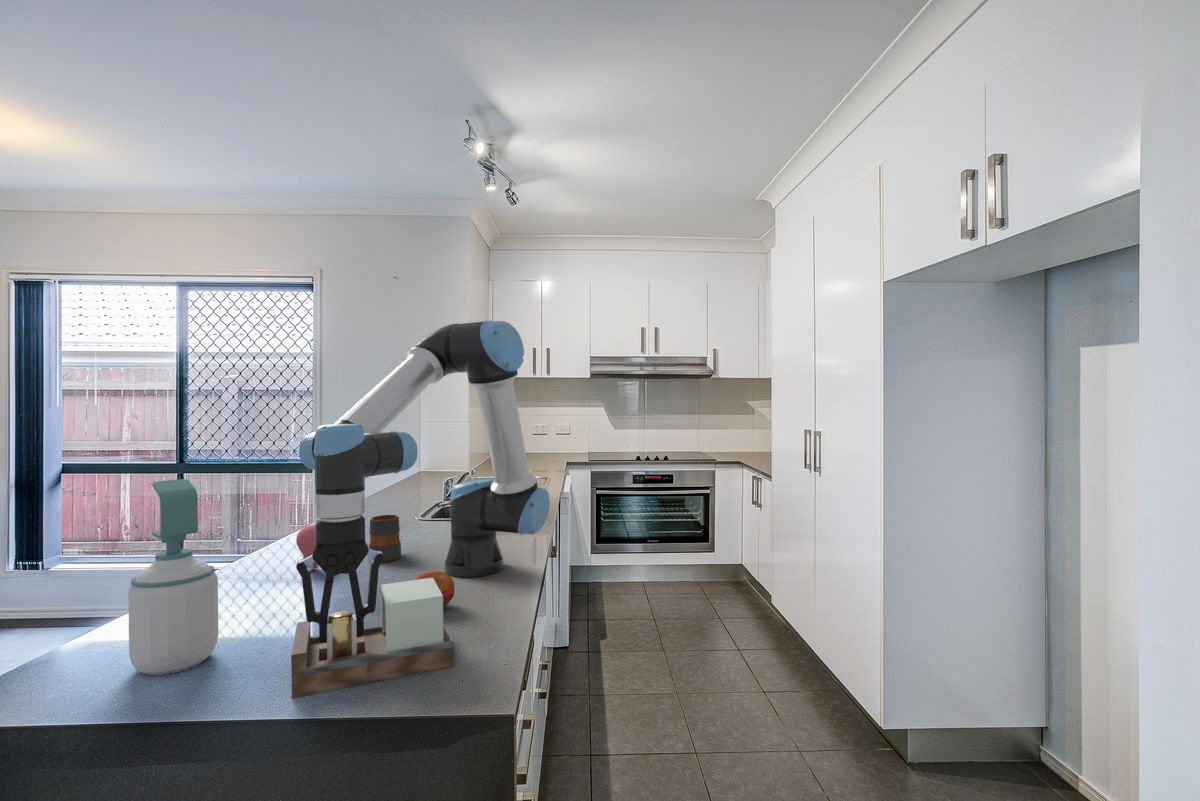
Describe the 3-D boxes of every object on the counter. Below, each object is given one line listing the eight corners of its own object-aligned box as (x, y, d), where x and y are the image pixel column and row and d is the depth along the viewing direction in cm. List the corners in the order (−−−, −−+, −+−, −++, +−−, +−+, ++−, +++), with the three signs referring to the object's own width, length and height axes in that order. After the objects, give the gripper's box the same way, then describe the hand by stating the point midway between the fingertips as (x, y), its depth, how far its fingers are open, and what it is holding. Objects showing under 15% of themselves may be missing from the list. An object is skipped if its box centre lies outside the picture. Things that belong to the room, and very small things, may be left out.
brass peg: (353, 656, 98) (352, 609, 97) (353, 665, 94) (352, 616, 94) (329, 660, 96) (328, 613, 96) (329, 670, 93) (328, 620, 93)
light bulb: (332, 569, 153) (331, 524, 153) (306, 576, 147) (305, 529, 147) (316, 565, 156) (316, 521, 156) (290, 572, 150) (290, 526, 150)
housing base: (440, 634, 109) (440, 600, 109) (454, 665, 96) (453, 626, 96) (297, 660, 99) (297, 622, 99) (291, 698, 86) (291, 655, 86)
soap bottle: (205, 641, 107) (203, 474, 107) (229, 660, 99) (227, 479, 99) (120, 666, 97) (117, 482, 97) (139, 689, 89) (136, 489, 89)
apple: (412, 605, 125) (412, 568, 125) (452, 599, 128) (451, 564, 128) (414, 617, 118) (413, 578, 118) (456, 612, 120) (455, 574, 120)
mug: (407, 551, 170) (407, 511, 170) (396, 562, 158) (395, 520, 158) (378, 552, 170) (377, 512, 170) (364, 563, 158) (363, 521, 158)
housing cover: (433, 622, 107) (432, 577, 107) (443, 644, 97) (442, 595, 97) (381, 630, 103) (381, 584, 103) (386, 655, 93) (385, 604, 93)
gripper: (389, 509, 102) (391, 641, 102) (287, 517, 95) (289, 659, 95) (393, 516, 95) (395, 658, 95) (283, 526, 88) (285, 678, 88)
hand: (342, 658), depth 95 cm, fingers closed on brass peg, 3 cm apart
